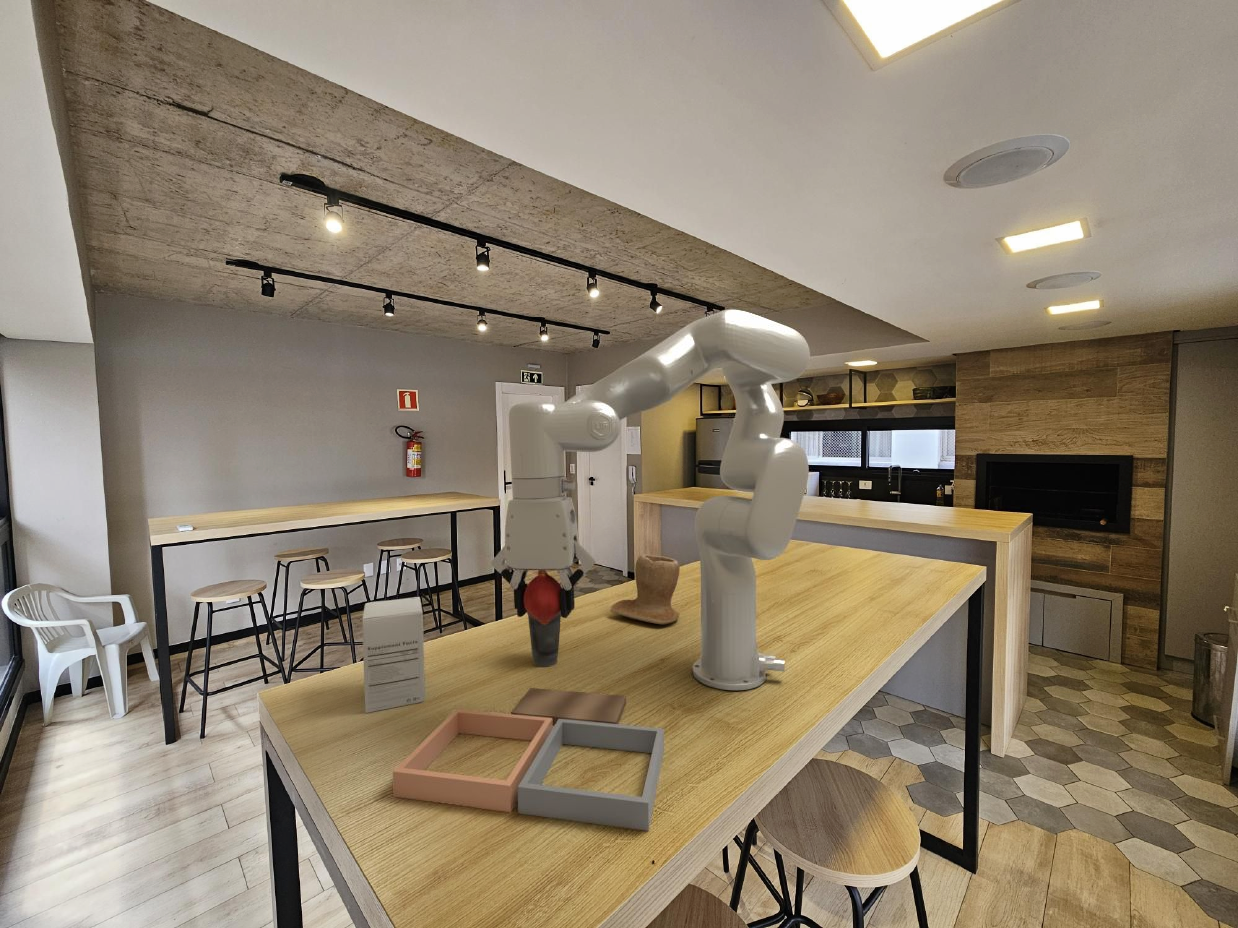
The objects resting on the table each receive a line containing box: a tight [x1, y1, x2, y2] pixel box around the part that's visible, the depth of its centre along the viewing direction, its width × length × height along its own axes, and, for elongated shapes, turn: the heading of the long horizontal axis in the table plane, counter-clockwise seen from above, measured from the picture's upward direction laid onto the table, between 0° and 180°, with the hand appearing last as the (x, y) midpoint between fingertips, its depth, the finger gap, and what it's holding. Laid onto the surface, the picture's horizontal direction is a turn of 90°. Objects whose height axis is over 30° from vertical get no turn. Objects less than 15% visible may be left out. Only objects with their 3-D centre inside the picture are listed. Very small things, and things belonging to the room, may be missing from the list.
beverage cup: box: [526, 570, 562, 668], centre depth 98 cm, size 7×7×20 cm
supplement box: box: [361, 596, 426, 714], centre depth 85 cm, size 9×9×15 cm
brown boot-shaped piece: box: [609, 554, 681, 625], centre depth 122 cm, size 15×12×15 cm
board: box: [510, 687, 627, 726], centre depth 79 cm, size 16×8×1 cm, turn 79°
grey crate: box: [517, 719, 665, 832], centre depth 63 cm, size 15×15×3 cm
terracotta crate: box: [392, 708, 554, 813], centre depth 66 cm, size 15×15×3 cm
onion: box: [523, 570, 563, 624], centre depth 74 cm, size 6×6×8 cm
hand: (544, 613), depth 75 cm, fingers closed on onion, 5 cm apart
